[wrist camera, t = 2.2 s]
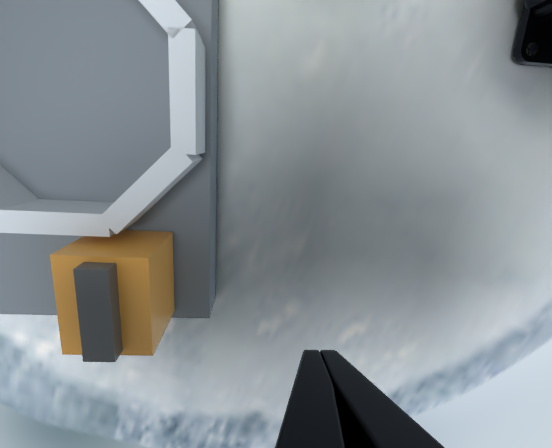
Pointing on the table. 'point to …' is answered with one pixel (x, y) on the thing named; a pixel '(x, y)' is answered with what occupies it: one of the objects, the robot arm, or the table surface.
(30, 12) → the octagon socket plate
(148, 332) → the orange block
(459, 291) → the table surface
